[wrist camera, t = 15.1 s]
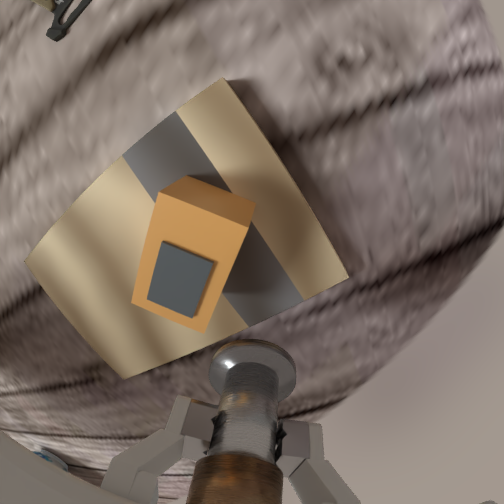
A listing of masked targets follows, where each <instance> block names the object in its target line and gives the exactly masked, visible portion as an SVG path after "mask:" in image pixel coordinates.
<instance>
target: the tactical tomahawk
mask: <svg viewBox="0 0 504 504" xmlns="http://www.w3.org/2000/svg"><path fill="white" fill-rule="evenodd" d="M31 1H33V2H35V3H36V4H38V5H40V6H42V7H43V8H45V9H47V10H49V11H51V12H52V13H54V15H55V16H54V20H53V23H52V26H51V28H49V29H48V30H47V33H46V36H48V37H49V38H50V39H52V40H54V41H56V42H57V41H58V40H60V39H61V38H62V37H64V36H65V35H66V29H67V28H68V27H69V26H70V25H71V23H72V22H73V21H74V20H75V19H76V18H77V17H78V16H79V15H80V14H81V13H82V11H83V10H84V9H85V8H86V7H87V6H88V5H89V3H90V2H91V1H92V0H82V1H81V2H80V4H79V5H78V7H77V8H76V9H75V10H74V11H73V12H72V13H71V14H70V16H69V17H68V19H67V21H66V22H65V23H64V24H63V25H60V19H61V18H62V16H63V14H64V13H65V11H66V9H67V8H68V7H69V5H70V4H71V2H72V1H73V0H31Z"/></svg>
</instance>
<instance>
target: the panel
mask: <svg viewBox="0 0 504 504" xmlns="http://www.w3.org/2000/svg"><path fill="white" fill-rule="evenodd" d="M186 175H187V176H190V177H192V178H195V179H197V180H200V181H203V182H205V183H208V184H210V185H213V186H215V187H218V188H220V189H223V190H225V191H228V192H230V193H233V194H235V195H238V196H240V197H243V198H245V199H248V200H250V201H252V202H255V203H256V205H255V209H254V212H253V215H252V219H251V222H250V225H249V229H248V231H247V233H246V236H245V238H244V240H243V243H242V245H241V247H240V250H239V252H238V254H237V257H236V259H235V261H234V264H233V266H232V268H231V271H230V273H229V275H228V278H227V280H226V283H225V285H224V287H223V290H222V292H221V294H220V297H219V299H218V302H217V304H216V306H215V309H214V311H213V314H212V316H211V318H210V321H209V323H208V326H207V328H206V330H205V333H204V334H203V333H200V332H198V331H195V330H193V329H191V328H188V327H186V326H183V325H181V324H178V323H176V322H174V321H171V320H169V319H167V318H164V317H162V316H160V315H157V314H155V313H153V312H150V311H148V310H146V309H144V308H142V307H139V306H137V305H135V304H133V303H131V301H132V296H133V291H134V286H135V282H136V277H137V273H138V268H139V264H140V260H141V255H142V251H143V247H144V243H145V239H146V235H147V232H148V228H149V224H150V220H151V217H152V213H153V209H154V206H155V202H156V199H157V196H158V192H159V191H161V190H162V189H164V188H166V187H167V186H169V185H171V184H172V183H174V182H176V181H177V180H179V179H181V178H182V177H184V176H186ZM24 262H25V264H26V265H27V266H28V268H29V269H30V271H31V272H32V274H33V275H34V277H35V278H36V279H37V281H38V282H39V283H40V285H41V286H42V288H43V289H44V290H45V292H46V293H47V294H48V296H49V297H50V298H51V299H52V301H53V302H54V303H55V305H56V306H57V307H58V308H59V310H60V311H61V312H62V313H63V315H64V316H65V317H66V318H67V319H68V321H69V322H70V323H71V324H72V325H73V326H74V328H75V329H76V330H77V331H78V332H79V333H80V335H81V336H82V337H83V338H84V339H85V340H86V341H87V342H88V343H89V345H90V346H91V347H92V348H93V349H94V350H95V351H96V352H97V353H98V354H99V355H100V356H101V357H102V358H103V359H104V360H105V361H106V363H107V364H108V365H109V366H110V367H111V368H112V369H113V370H114V371H115V372H116V373H117V374H119V375H120V376H121V377H122V378H123V379H126V378H129V377H132V376H134V375H137V374H140V373H142V372H145V371H147V370H150V369H153V368H155V367H158V366H160V365H163V364H165V363H168V362H170V361H173V360H175V359H177V358H180V357H182V356H185V355H187V354H189V353H192V352H194V351H197V350H199V349H201V348H204V347H206V346H208V345H211V344H213V343H215V342H217V341H220V340H222V339H224V338H226V337H229V336H231V335H233V334H235V333H238V332H240V331H242V330H244V329H246V328H248V327H251V326H253V325H255V324H257V323H259V322H261V321H263V320H266V319H268V318H270V317H272V316H274V315H276V314H278V313H280V312H282V311H284V310H286V309H288V308H291V307H293V306H295V305H297V304H299V303H301V302H303V301H305V300H307V299H309V298H311V297H313V296H315V295H316V294H318V293H320V292H322V291H324V290H326V289H328V288H330V287H332V286H334V285H336V284H338V283H340V282H341V281H343V280H345V279H347V278H349V276H348V274H347V271H346V269H345V267H344V265H343V263H342V261H341V260H340V258H339V256H338V254H337V252H336V251H335V249H334V247H333V245H332V243H331V242H330V240H329V238H328V236H327V235H326V233H325V231H324V229H323V228H322V226H321V224H320V223H319V221H318V219H317V217H316V216H315V214H314V212H313V211H312V209H311V207H310V206H309V204H308V202H307V201H306V199H305V197H304V196H303V194H302V192H301V191H300V189H299V188H298V186H297V184H296V183H295V181H294V180H293V178H292V176H291V175H290V173H289V172H288V170H287V168H286V167H285V165H284V164H283V162H282V161H281V159H280V157H279V156H278V154H277V153H276V151H275V150H274V148H273V147H272V145H271V144H270V142H269V141H268V139H267V138H266V136H265V135H264V133H263V132H262V130H261V129H260V127H259V126H258V124H257V123H256V121H255V120H254V118H253V117H252V115H251V114H250V113H249V111H248V110H247V108H246V107H245V105H244V104H243V103H242V101H241V100H240V98H239V97H238V95H237V94H236V93H235V91H234V90H233V88H232V87H231V86H230V84H229V83H228V82H227V80H225V79H224V78H221V79H220V80H218V81H217V82H215V83H214V84H212V85H211V86H209V87H208V88H206V89H205V90H203V91H202V92H201V93H199V94H198V95H196V96H195V97H194V98H192V99H191V100H189V101H188V102H187V103H185V104H184V105H183V106H181V107H180V108H179V109H177V110H176V111H175V112H173V113H172V114H171V115H169V116H168V117H167V118H166V119H164V120H163V121H162V122H161V123H159V124H158V125H157V126H156V127H154V128H153V129H152V130H151V131H150V132H148V133H147V134H146V135H145V136H144V137H142V138H141V139H140V140H139V141H138V142H136V143H135V144H134V145H133V146H132V147H131V148H130V149H128V150H127V151H126V152H125V153H124V154H123V155H122V156H121V157H120V158H118V159H117V160H116V161H115V162H114V163H113V164H112V165H111V166H110V167H109V168H108V169H107V170H106V171H105V172H104V173H102V174H101V175H100V176H99V177H98V178H97V179H96V180H95V181H94V182H93V183H92V184H91V185H90V186H89V187H88V188H87V189H86V190H85V191H84V192H83V193H82V194H81V196H80V197H79V198H78V199H77V200H76V201H75V202H74V203H73V204H72V205H71V206H70V207H69V208H68V209H67V210H66V212H65V213H64V214H63V215H62V216H61V217H60V218H59V219H58V221H57V222H56V223H55V224H54V225H53V226H52V227H51V229H50V230H49V231H48V232H47V233H46V234H45V236H44V237H43V238H42V239H41V240H40V242H39V243H38V244H37V245H36V247H35V248H34V249H33V250H32V252H31V253H30V254H29V256H28V257H27V258H26V259H25V261H24Z"/></svg>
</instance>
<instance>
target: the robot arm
mask: <svg viewBox="0 0 504 504" xmlns="http://www.w3.org/2000/svg"><path fill="white" fill-rule="evenodd" d="M218 407H219V406H216V405H213V404H209V403H205V402H202V401H198V400H195V399H192V398H188V397H185V396H182V395H178V396H177V397H176V399H175V402H174V405H173V408H172V410H171V413H170V416H169V419H168V422H167V424H166V427H165V430H164V429H159V430H158V431H156V432H155V433H153V434H151V435H150V436H148V437H147V438H145V439H143V440H142V441H140V442H139V443H137V444H135V445H134V446H132V447H130V448H129V449H127V450H125V451H124V452H122V453H120V454H119V455H117V456H115V457H113V458H112V461H111V463H110V465H109V467H108V470H107V472H106V474H105V477H104V479H103V481H102V484H101V486H100V488H99V487H97V486H95V485H93V484H91V483H88V482H86V481H84V480H82V479H80V478H78V477H76V476H74V475H72V474H70V473H68V472H66V471H64V470H63V469H61V468H59V467H57V466H55V465H54V464H52V463H50V462H48V461H47V460H45V459H43V458H42V457H40V456H38V455H37V454H35V453H33V452H32V451H30V450H29V449H27V448H26V447H24V446H23V445H21V444H20V443H18V442H17V441H15V440H14V439H12V438H11V437H9V436H8V435H7V434H5V433H4V432H3V431H1V430H0V504H157V501H158V498H159V497H158V478H157V477H159V476H160V475H161V474H162V473H164V472H165V471H166V470H167V469H169V468H170V467H171V466H173V465H174V464H175V463H176V462H177V461H179V460H180V459H181V457H182V458H186V459H190V460H195V461H198V460H199V459H201V458H203V457H206V455H207V451H208V448H209V445H210V441H211V437H212V433H213V429H214V423H215V419H216V416H217V411H218ZM274 465H276V466H277V467H279V468H280V469H281V470H282V472H283V477H288V479H289V481H290V483H291V485H292V486H293V488H294V490H295V492H296V494H297V495H298V497H299V499H300V500H301V502H302V504H361V503H360V500H359V499H358V498H357V497H356V495H354V493H353V492H352V491H351V489H350V488H349V487H348V486H347V484H346V483H345V482H344V481H343V479H342V478H341V477H340V475H339V474H338V473H337V472H336V470H335V469H334V468H333V467H332V465H331V464H330V463H329V461H327V460H324V448H323V434H322V426H321V424H317V423H307V422H303V421H295V420H288V419H281V420H280V421H279V422H278V428H277V429H276V447H275V463H274ZM480 504H497V503H495V502H494V501H486V502H483V503H480Z"/></svg>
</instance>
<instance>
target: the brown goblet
mask: <svg viewBox="0 0 504 504" xmlns="http://www.w3.org/2000/svg"><path fill="white" fill-rule="evenodd" d="M209 380H210V383H211V385H212V387H213V388H214V389H215V390H216V391H217V392H218V393H219V394H220V395H221V398H220V402H219V407H218V411H217V416H216V420H215V424H214V429H213V433H212V437H211V442H210V446H209V451H208V455H207V456H206V457H203V458H201V459H199V460H198V461H197V462H196V465H195V469H194V473H193V477H192V481H191V485H190V489H189V493H188V497H187V501H186V504H282V490H283V472H282V470H281V469H280V468H279V467H277V466H276V465H274V463H275V447H276V429H277V410H278V402H280V401H282V400H284V399H285V398H286V397H288V396H289V395H290V394H291V393H292V391H293V389H294V388H295V384H296V366H295V363H294V361H293V359H292V357H291V356H290V355H289V354H288V353H287V352H286V351H285V350H284V349H283V348H281V347H279V346H278V345H275V344H273V343H271V342H268V341H263V340H258V339H242V340H236V341H233V342H230V343H228V344H226V345H224V346H222V347H221V348H220V349H219V350H218V351H217V352H216V353H215V354H214V356H213V359H212V362H211V365H210V369H209Z"/></svg>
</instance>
